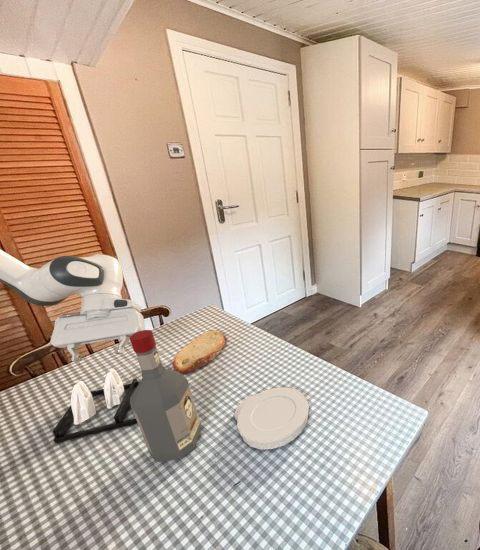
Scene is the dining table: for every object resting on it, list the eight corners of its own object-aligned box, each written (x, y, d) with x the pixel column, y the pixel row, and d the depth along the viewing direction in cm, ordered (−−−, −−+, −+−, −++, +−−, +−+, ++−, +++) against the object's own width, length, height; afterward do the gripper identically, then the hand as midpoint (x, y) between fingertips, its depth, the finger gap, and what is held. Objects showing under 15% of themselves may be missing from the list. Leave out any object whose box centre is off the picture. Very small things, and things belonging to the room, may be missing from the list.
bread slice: (219, 332, 115) (217, 323, 113) (237, 353, 103) (235, 344, 101) (164, 351, 104) (162, 342, 102) (177, 378, 91) (174, 368, 90)
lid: (265, 384, 88) (264, 376, 87) (322, 408, 80) (322, 399, 79) (215, 430, 74) (212, 421, 73) (278, 464, 66) (276, 454, 65)
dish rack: (55, 443, 71) (49, 434, 70) (87, 395, 85) (83, 387, 84) (148, 421, 77) (144, 412, 76) (163, 379, 91) (161, 371, 90)
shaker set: (78, 431, 74) (61, 396, 70) (70, 424, 76) (52, 390, 72) (131, 398, 84) (119, 365, 80) (123, 393, 86) (110, 361, 82)
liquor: (146, 465, 66) (99, 351, 55) (165, 430, 74) (128, 324, 63) (191, 458, 67) (154, 346, 56) (205, 425, 76) (175, 321, 64)
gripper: (48, 311, 80) (41, 364, 76) (138, 299, 87) (137, 347, 82) (63, 318, 86) (58, 367, 81) (147, 306, 92) (146, 351, 87)
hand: (98, 357), depth 82 cm, fingers open, 8 cm apart
